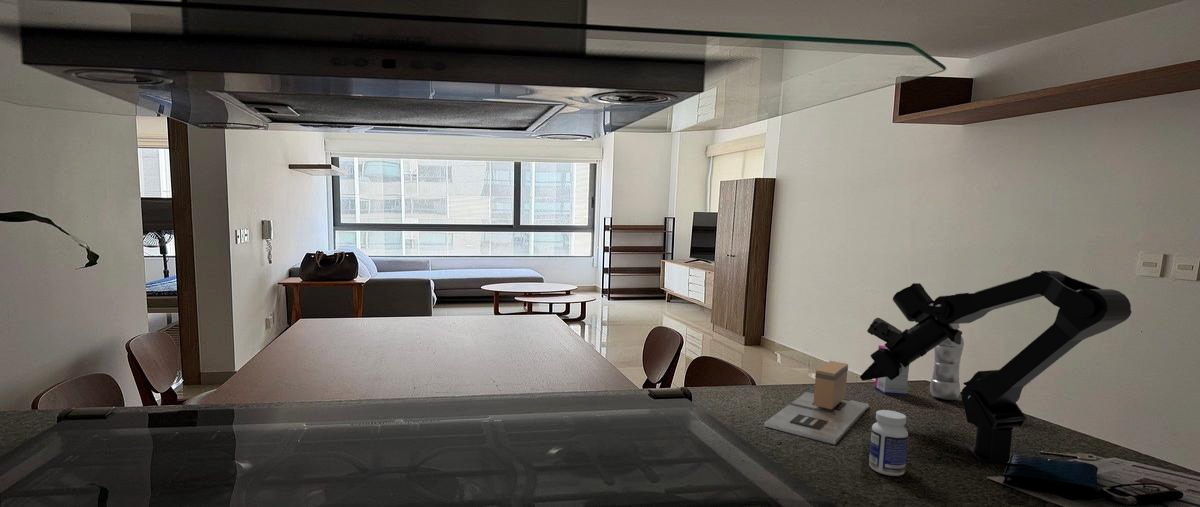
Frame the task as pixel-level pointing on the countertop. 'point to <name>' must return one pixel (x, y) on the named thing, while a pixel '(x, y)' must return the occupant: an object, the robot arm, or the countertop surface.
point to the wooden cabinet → (830, 384)
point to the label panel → (817, 418)
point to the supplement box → (893, 382)
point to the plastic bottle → (947, 369)
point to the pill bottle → (889, 443)
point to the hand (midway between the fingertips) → (861, 378)
